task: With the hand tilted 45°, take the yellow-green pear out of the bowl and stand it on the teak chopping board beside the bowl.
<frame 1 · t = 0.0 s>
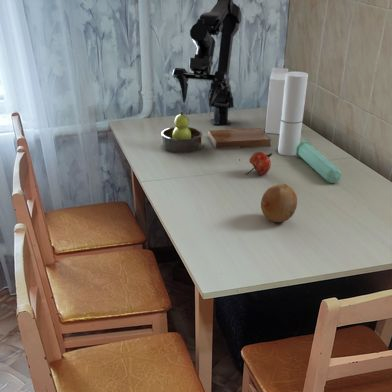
hand: (196, 103, 183), 15 cm above the table, tool tilted 35°, fingers open, 9 cm apart
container: (317, 170, 177), on the table
onion: (277, 220, 149), on the table
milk: (274, 131, 208), on the table
cylindrical container: (288, 152, 190), on the table
bowl: (181, 147, 193), on the table
pear: (181, 146, 193), resting on bowl
pomegranate: (258, 174, 174), on the table
board: (238, 141, 198), on the table
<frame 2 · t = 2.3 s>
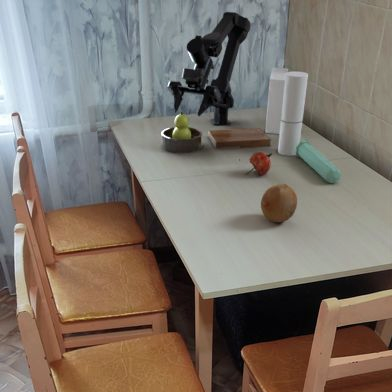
hand: (186, 113, 189), 11 cm above the table, tool tilted 45°, fingers open, 9 cm apart
nothing on the table moved.
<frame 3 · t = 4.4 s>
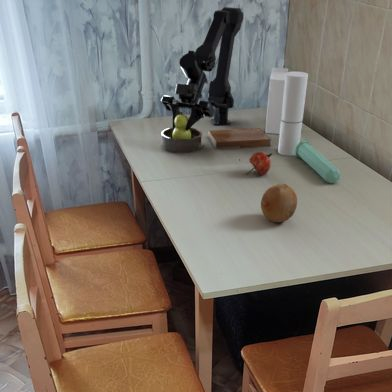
hand: (179, 128, 188), 7 cm above the table, tool tilted 45°, fingers closed on pear, 5 cm apart
pear: (181, 145, 193), point 1 cm above the table, touching bowl, gripper
everything else where it was.
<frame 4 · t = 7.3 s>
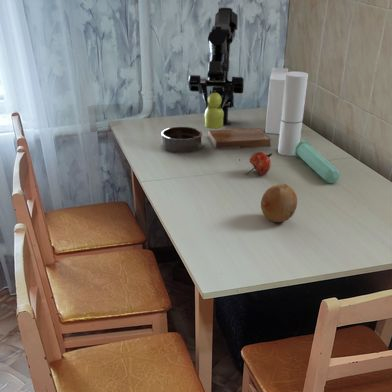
hand: (213, 107, 185), 13 cm above the table, tool tilted 45°, fingers closed on pear, 5 cm apart
pear: (213, 125, 190), point 7 cm above the table, touching gripper
everything else where it was.
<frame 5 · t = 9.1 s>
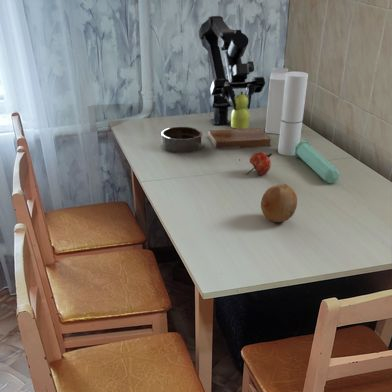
hand: (242, 108, 189), 12 cm above the table, tool tilted 45°, fingers closed on pear, 5 cm apart
pear: (239, 126, 194), point 6 cm above the table, touching gripper
everything else where it was.
when the fingers open (9 cm above the table, at t = 10.4 s): pear stays where it is, resting on board.
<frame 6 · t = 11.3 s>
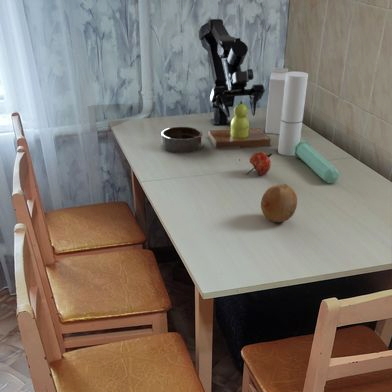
hand: (241, 116, 191), 9 cm above the table, tool tilted 45°, fingers open, 9 cm apart
pear: (239, 135, 196), point 2 cm above the table, touching board
everything else where it was.
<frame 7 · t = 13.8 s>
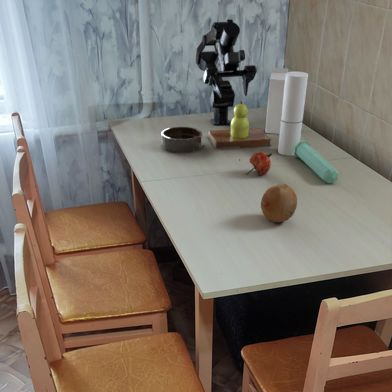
hand: (234, 96, 195), 14 cm above the table, tool tilted 45°, fingers open, 9 cm apart
nothing on the table moved.
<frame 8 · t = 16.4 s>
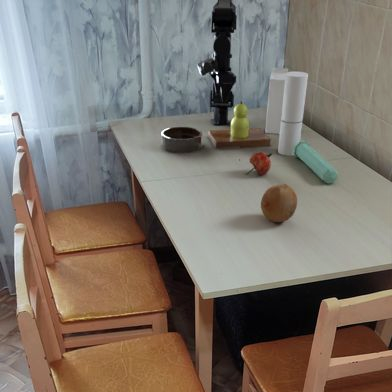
hand: (220, 99, 195), 13 cm above the table, tool pointing down, fingers open, 9 cm apart
nothing on the table moved.
at the end: pear inside the target area on the board (0.4 cm from its centre), point 2.5 cm above the board's base; pear touching board; pear tilted 0° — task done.
